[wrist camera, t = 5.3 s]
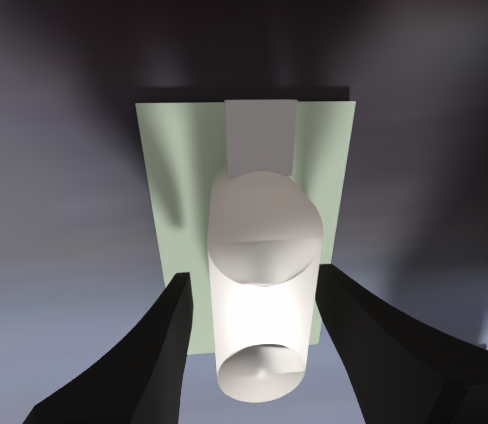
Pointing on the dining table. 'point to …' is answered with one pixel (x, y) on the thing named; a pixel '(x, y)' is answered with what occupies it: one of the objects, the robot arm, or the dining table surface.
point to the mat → (201, 177)
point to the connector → (261, 254)
